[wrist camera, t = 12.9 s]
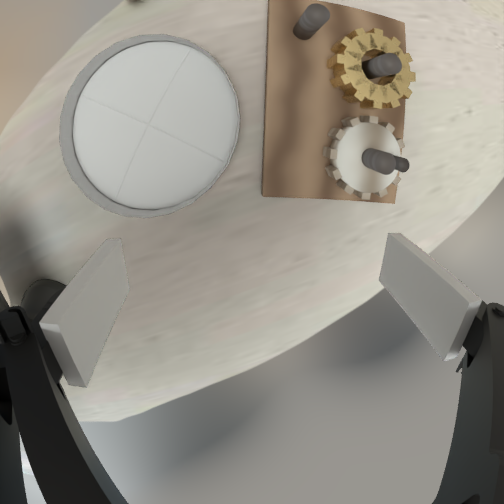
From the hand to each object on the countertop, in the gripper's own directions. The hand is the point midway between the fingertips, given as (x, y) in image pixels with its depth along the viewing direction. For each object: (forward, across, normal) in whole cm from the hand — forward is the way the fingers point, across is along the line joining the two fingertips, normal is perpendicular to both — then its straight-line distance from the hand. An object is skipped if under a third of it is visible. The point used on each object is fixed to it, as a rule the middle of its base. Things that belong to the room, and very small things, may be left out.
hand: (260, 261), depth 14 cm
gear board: (+24, +12, +10) cm, 29 cm away
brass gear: (+22, +15, +14) cm, 30 cm away
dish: (+26, -11, +7) cm, 29 cm away
